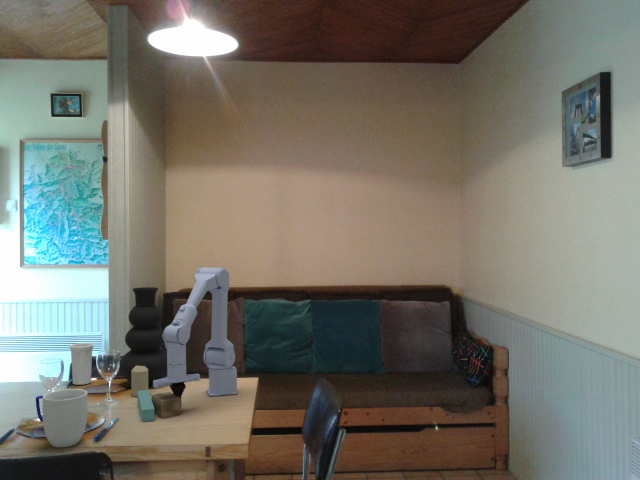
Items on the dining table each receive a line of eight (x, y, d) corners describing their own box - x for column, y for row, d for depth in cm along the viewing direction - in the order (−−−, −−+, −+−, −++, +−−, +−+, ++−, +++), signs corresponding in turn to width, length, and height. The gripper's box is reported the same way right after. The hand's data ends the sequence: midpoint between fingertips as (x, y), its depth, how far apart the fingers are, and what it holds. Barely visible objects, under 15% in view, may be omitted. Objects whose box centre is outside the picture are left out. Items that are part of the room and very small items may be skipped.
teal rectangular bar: (148, 400, 195) (148, 389, 195) (154, 420, 175) (154, 408, 175) (137, 401, 194) (137, 390, 194) (142, 421, 173) (142, 410, 173)
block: (170, 407, 187) (170, 391, 187) (180, 414, 180) (180, 398, 180) (151, 410, 184) (151, 394, 184) (161, 418, 177) (161, 401, 177)
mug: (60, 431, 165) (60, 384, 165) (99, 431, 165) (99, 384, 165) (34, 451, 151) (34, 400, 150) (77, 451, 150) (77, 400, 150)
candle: (150, 392, 204) (150, 364, 204) (144, 397, 199) (144, 367, 199) (135, 392, 205) (135, 363, 205) (128, 396, 199) (128, 367, 199)
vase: (178, 377, 225) (178, 286, 225) (160, 390, 207) (160, 291, 206) (132, 376, 227) (131, 285, 227) (110, 389, 209) (110, 290, 208)
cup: (65, 385, 213) (65, 346, 213) (78, 380, 221) (77, 342, 221) (85, 386, 212) (85, 347, 212) (98, 381, 220) (97, 343, 220)
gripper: (193, 358, 191) (194, 399, 191) (149, 364, 182) (150, 408, 183) (202, 361, 185) (203, 405, 185) (157, 368, 177) (157, 413, 177)
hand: (177, 406), depth 184 cm, fingers closed, pressing on block
